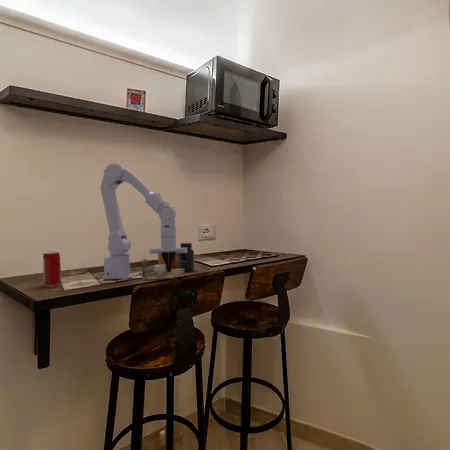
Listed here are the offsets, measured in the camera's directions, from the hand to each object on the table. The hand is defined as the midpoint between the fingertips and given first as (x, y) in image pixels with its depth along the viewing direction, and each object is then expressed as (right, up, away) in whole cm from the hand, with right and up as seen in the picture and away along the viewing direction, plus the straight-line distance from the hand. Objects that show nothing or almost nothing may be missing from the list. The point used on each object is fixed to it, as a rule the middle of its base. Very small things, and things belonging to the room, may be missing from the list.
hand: (169, 271), depth 139 cm
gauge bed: (-2, -2, 0) cm, 3 cm away
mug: (-3, -2, +22) cm, 22 cm away
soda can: (-40, -3, -12) cm, 42 cm away
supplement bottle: (+5, -2, +14) cm, 15 cm away
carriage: (-3, -1, 0) cm, 4 cm away
